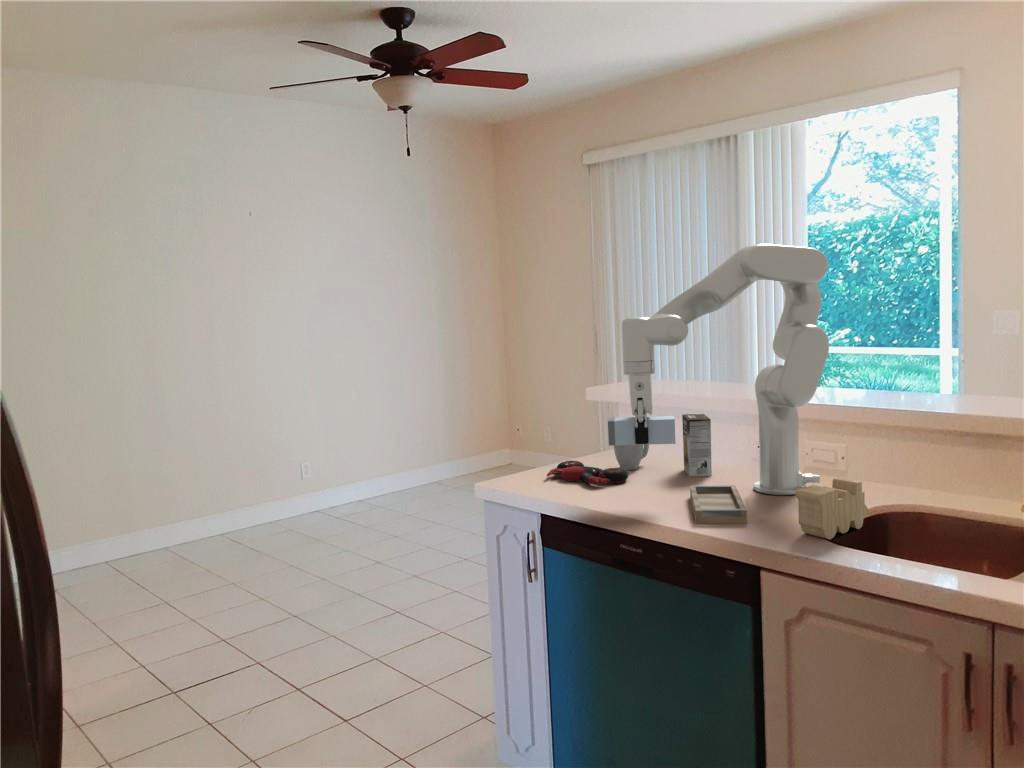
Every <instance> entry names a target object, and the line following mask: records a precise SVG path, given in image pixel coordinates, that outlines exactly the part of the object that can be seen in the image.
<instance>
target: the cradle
mask: <svg viewBox="0 0 1024 768" xmlns="http://www.w3.org/2000/svg"><path fill="white" fill-rule="evenodd" d="M689 494H690V496H689V497H690V502H691V507H692V511H693V517H694V520H695V524H696V525H698V524H699V525H710V524H711V525H714V524H715V525H716V524H717V525H718V524H719V525H721V524H722V525H723V524H724V525H725V524H727V525H731V524H732V525H737V524H738V525H744V524H745V525H748V510H747V508H746V505H745V502H744V501H743V498H742V496H741V494H740V492H739V490H738V488H737V485H735V484H733V485H729V484H727V485H690V486H689Z"/></svg>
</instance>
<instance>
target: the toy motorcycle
mask: <svg viewBox="0 0 1024 768" xmlns="http://www.w3.org/2000/svg"><path fill="white" fill-rule="evenodd" d="M552 475H553V476H555V477H556V476H560V477H561V478H562V479H564V480H565V481H568V482H586V483H588V484H590V485H599V484H602V485H603V484H610V485H611V484H613V485H614V484H615V485H616V484H620V483H624V482H625V481H626V480H627V479H628V478H629V473H628V470H624V469H620V467H609V468H605V469H602V468H599V467H593V466H587V465H586V466H585V465H584V464H583V462H581V461H579V460H565V461H561V462H560V463H559V464H558V465H557V466H556V467H555V468H552V469H550V470H549V471H548V473H546V477H550V476H552Z"/></svg>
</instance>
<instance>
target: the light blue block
mask: <svg viewBox="0 0 1024 768" xmlns="http://www.w3.org/2000/svg"><path fill="white" fill-rule="evenodd" d="M643 418H644V417H643ZM675 421H676V420H675V415H665V416H663V415H662V416H661V415H657V416H647V427H648V439H649V443H648V444H649V445H675V444H676V422H675ZM644 423H645V422H644ZM635 428H636V426H635V416H631V417H629V416H626V417H608V418H607V435H608V436H607V437H608V446H614V445H647V444H636V443H635Z"/></svg>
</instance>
